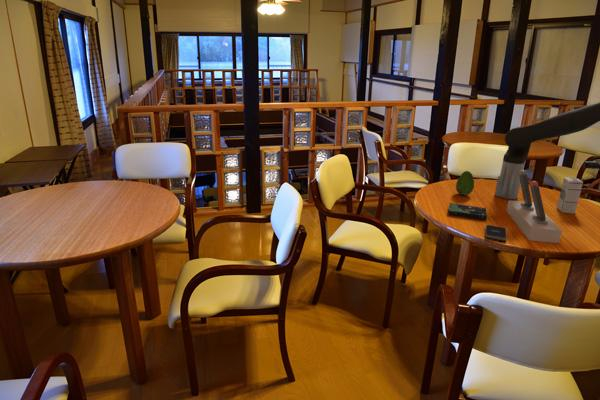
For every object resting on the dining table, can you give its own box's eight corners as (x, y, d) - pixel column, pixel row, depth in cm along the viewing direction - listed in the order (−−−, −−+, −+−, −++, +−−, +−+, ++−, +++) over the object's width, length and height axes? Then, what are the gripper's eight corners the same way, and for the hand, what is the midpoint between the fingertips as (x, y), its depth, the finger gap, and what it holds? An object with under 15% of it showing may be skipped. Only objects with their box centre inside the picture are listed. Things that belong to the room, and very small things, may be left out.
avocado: (464, 198, 192) (468, 173, 188) (451, 193, 198) (455, 169, 194) (475, 196, 196) (480, 172, 192) (462, 191, 202) (466, 167, 198)
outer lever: (543, 214, 155) (534, 178, 152) (548, 219, 151) (539, 182, 147) (535, 216, 156) (526, 180, 152) (539, 221, 152) (531, 184, 148)
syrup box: (575, 213, 177) (584, 181, 172) (560, 212, 178) (569, 180, 173) (570, 209, 182) (578, 177, 177) (555, 207, 183) (563, 176, 178)
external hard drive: (504, 232, 157) (505, 227, 156) (505, 243, 147) (506, 238, 147) (485, 229, 159) (486, 224, 159) (484, 240, 150) (485, 235, 149)
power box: (531, 213, 176) (534, 200, 174) (558, 243, 148) (563, 227, 146) (506, 211, 177) (509, 198, 175) (529, 240, 150) (532, 225, 148)
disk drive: (484, 213, 176) (448, 208, 180) (485, 207, 175) (449, 202, 179) (486, 222, 166) (447, 216, 171) (487, 216, 166) (449, 210, 170)
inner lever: (529, 201, 169) (523, 167, 165) (534, 206, 165) (527, 170, 161) (522, 203, 170) (516, 169, 166) (526, 207, 165) (520, 172, 162)
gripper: (632, 152, 147) (578, 149, 150) (654, 162, 134) (595, 159, 137) (625, 172, 149) (573, 169, 152) (647, 184, 137) (589, 180, 140)
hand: (584, 164), depth 145 cm, fingers closed
